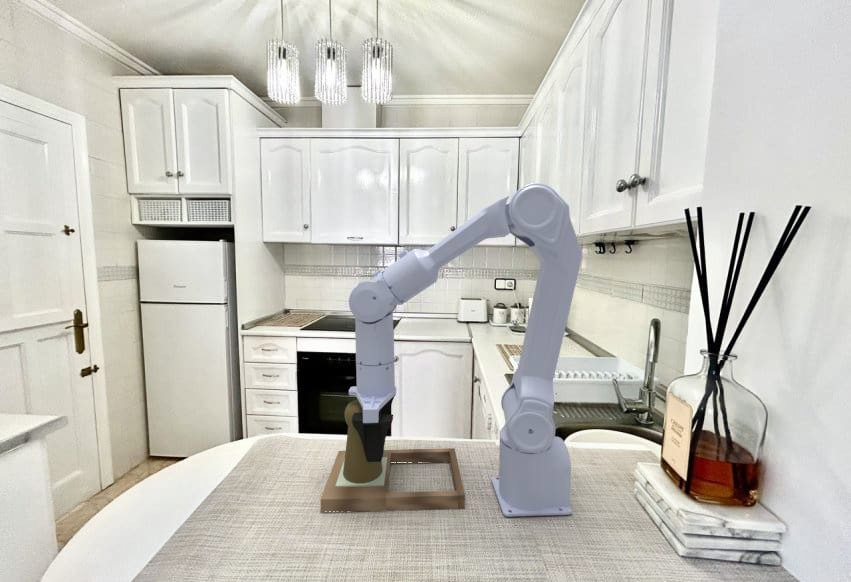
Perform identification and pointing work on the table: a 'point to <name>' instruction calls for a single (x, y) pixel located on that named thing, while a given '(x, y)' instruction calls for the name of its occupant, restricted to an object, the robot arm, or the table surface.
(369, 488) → the well board
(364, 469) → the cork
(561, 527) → the table surface
